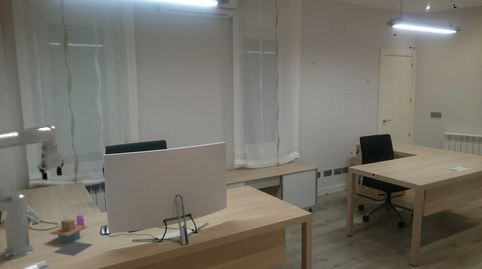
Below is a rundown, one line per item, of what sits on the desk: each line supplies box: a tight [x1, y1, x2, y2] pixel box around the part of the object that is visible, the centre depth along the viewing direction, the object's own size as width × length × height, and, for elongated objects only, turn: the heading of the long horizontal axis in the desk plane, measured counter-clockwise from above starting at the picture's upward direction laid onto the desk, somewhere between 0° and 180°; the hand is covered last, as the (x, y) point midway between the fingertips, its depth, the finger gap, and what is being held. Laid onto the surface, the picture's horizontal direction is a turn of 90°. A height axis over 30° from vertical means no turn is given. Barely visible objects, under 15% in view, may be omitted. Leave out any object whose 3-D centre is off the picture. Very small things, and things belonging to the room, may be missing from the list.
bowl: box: [57, 231, 81, 243], centre depth 188 cm, size 10×10×5 cm
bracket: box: [75, 214, 85, 226], centre depth 203 cm, size 13×6×7 cm, turn 119°
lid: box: [49, 218, 87, 237], centre depth 187 cm, size 12×12×6 cm
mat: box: [53, 241, 93, 257], centre depth 176 cm, size 13×13×1 cm
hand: (52, 177), depth 192 cm, fingers open, 9 cm apart
